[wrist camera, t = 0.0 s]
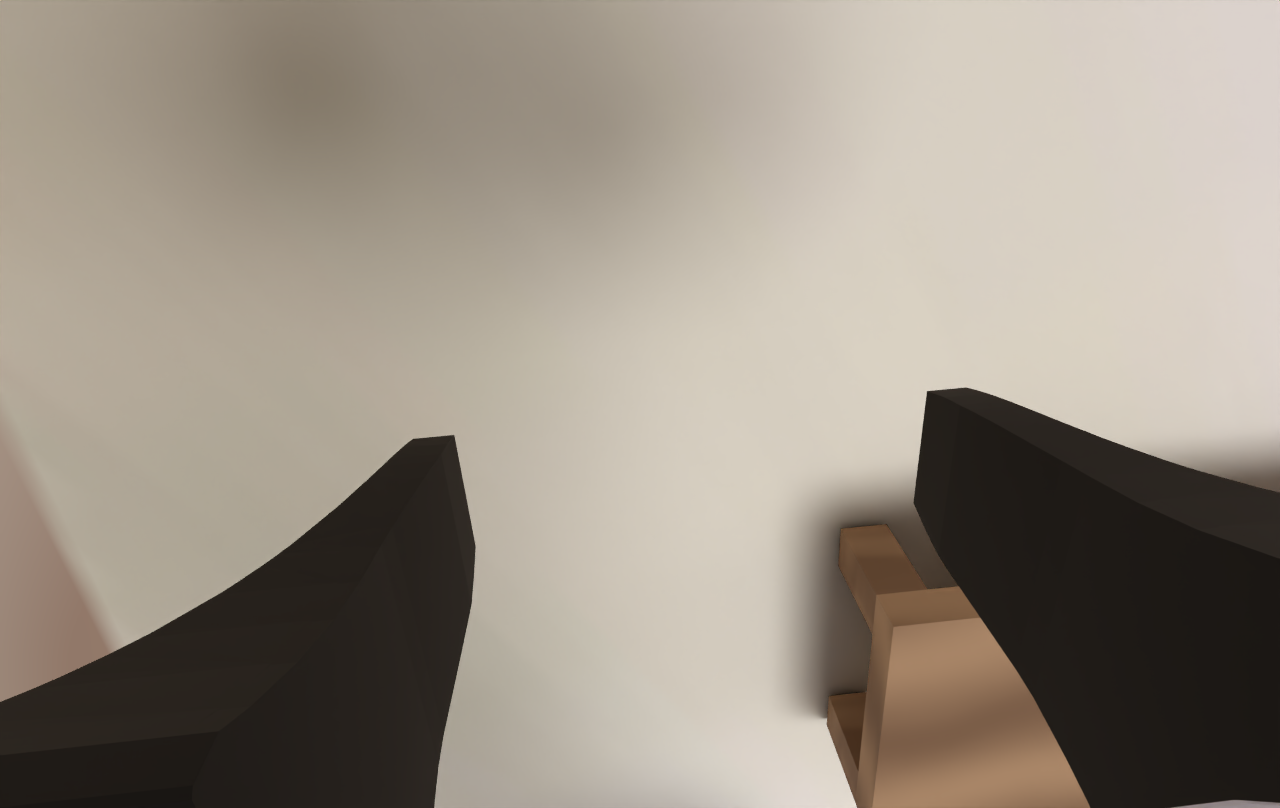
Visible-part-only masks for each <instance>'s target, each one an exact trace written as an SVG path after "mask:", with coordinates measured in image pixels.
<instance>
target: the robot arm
mask: <svg viewBox="0 0 1280 808" xmlns="http://www.w3.org/2000/svg"><path fill="white" fill-rule="evenodd" d="M914 505H915V507H916V509H917V512H918V514H919V516H920V518H921V520H922V523H923V525H924V527H925V529H926V532H927V534H928V536H929V538H930V540H931V542H932V544H933V546H934V548H935V550H936V552H937V554H938V555H939V557H940V559H941V560H942V562H943V563H944V565H945V566H946V568H947V569H948V571H949V572H950V574H951V575H952V577H953V578H954V580H955V581H956V583H957V584H958V586H959V587H960V589H961V590H962V592H963V593H964V595H965V596H966V598H967V599H968V601H969V602H970V603H971V605H972V606H973V608H974V609H975V611H976V612H977V614H978V615H979V617H980V618H981V619H982V621H983V622H984V624H985V625H986V627H987V628H988V630H989V631H990V633H991V634H992V636H993V637H994V638H995V640H996V641H997V643H998V644H999V646H1000V647H1001V649H1002V650H1003V652H1004V653H1005V655H1006V656H1007V657H1008V659H1009V660H1010V662H1011V663H1012V665H1013V666H1014V668H1015V669H1016V671H1017V672H1018V674H1019V675H1020V677H1021V679H1022V680H1023V682H1024V683H1025V685H1026V687H1027V688H1028V690H1029V691H1030V693H1031V695H1032V696H1033V698H1034V700H1035V702H1036V703H1037V705H1038V707H1039V709H1040V711H1041V713H1042V715H1043V717H1044V718H1045V720H1046V722H1047V724H1048V726H1049V728H1050V730H1051V731H1052V733H1053V735H1054V737H1055V739H1056V741H1057V743H1058V745H1059V746H1060V748H1061V750H1062V752H1063V754H1064V756H1065V758H1066V760H1067V762H1068V764H1069V766H1070V768H1071V770H1072V772H1073V774H1074V776H1075V778H1076V780H1077V782H1078V784H1079V786H1080V788H1081V790H1082V792H1083V794H1084V796H1085V798H1086V800H1087V802H1088V804H1089V806H1090V808H1280V493H1278V492H1274V491H1270V490H1266V489H1262V488H1258V487H1254V486H1251V485H1247V484H1243V483H1240V482H1236V481H1233V480H1229V479H1225V478H1222V477H1218V476H1215V475H1211V474H1207V473H1204V472H1200V471H1197V470H1194V469H1191V468H1187V467H1184V466H1181V465H1178V464H1175V463H1172V462H1169V461H1166V460H1163V459H1160V458H1157V457H1154V456H1151V455H1148V454H1145V453H1143V452H1140V451H1137V450H1134V449H1131V448H1128V447H1125V446H1123V445H1120V444H1117V443H1115V442H1112V441H1109V440H1106V439H1104V438H1101V437H1099V436H1096V435H1093V434H1091V433H1088V432H1086V431H1083V430H1080V429H1078V428H1075V427H1073V426H1070V425H1068V424H1065V423H1063V422H1060V421H1058V420H1055V419H1053V418H1050V417H1048V416H1045V415H1043V414H1040V413H1038V412H1035V411H1033V410H1030V409H1028V408H1025V407H1023V406H1020V405H1017V404H1015V403H1012V402H1010V401H1007V400H1004V399H1001V398H999V397H996V396H993V395H990V394H987V393H984V392H981V391H977V390H973V389H970V388H957V389H947V390H936V391H927V397H926V405H925V413H924V421H923V430H922V438H921V446H920V454H919V462H918V471H917V479H916V487H915V495H914ZM475 548H476V547H475V541H474V536H473V531H472V526H471V520H470V515H469V510H468V505H467V499H466V494H465V489H464V484H463V479H462V473H461V468H460V463H459V458H458V452H457V447H456V442H455V437H454V435H450V436H440V437H429V438H418V439H412V440H411V441H410V442H408V443H407V444H406V445H405V446H404V447H402V448H401V449H400V450H399V451H398V452H397V453H396V454H395V455H394V456H393V457H391V458H390V459H389V460H388V461H387V462H386V463H385V464H384V465H383V466H382V467H381V468H380V469H379V470H378V471H377V472H375V473H374V474H373V475H372V476H371V477H370V478H369V479H368V480H367V481H366V482H365V483H363V484H362V485H361V486H360V487H359V488H358V489H357V490H356V491H355V492H354V493H352V494H351V495H350V496H349V497H348V498H347V499H346V500H345V501H344V502H343V503H341V504H340V505H339V506H338V507H337V508H336V509H334V510H333V511H332V512H331V513H329V514H328V515H327V516H326V517H325V518H323V519H322V520H321V521H320V522H318V523H317V524H316V525H315V526H314V527H312V528H311V529H310V530H309V531H307V532H306V533H305V534H304V535H303V536H301V537H300V538H299V539H298V540H296V541H295V542H294V543H293V544H291V545H290V546H289V547H287V548H286V549H285V550H283V551H282V552H281V553H279V554H278V555H277V556H275V557H274V558H273V559H271V560H270V561H268V562H267V563H266V564H264V565H263V566H261V567H260V568H258V569H257V570H255V571H254V572H252V573H251V574H249V575H248V576H246V577H245V578H243V579H242V580H240V581H239V582H237V583H236V584H234V585H233V586H231V587H230V588H228V589H227V590H225V591H223V592H222V593H220V594H219V595H217V596H215V597H213V598H212V599H210V600H208V601H206V602H205V603H203V604H201V605H199V606H198V607H196V608H194V609H192V610H191V611H189V612H187V613H185V614H184V615H182V616H180V617H178V618H177V619H175V620H173V621H171V622H170V623H168V624H166V625H164V626H163V627H161V628H159V629H157V630H156V631H154V632H152V633H150V634H148V635H146V636H144V637H142V638H141V639H139V640H137V641H135V642H133V643H131V644H129V645H127V646H125V647H123V648H121V649H119V650H117V651H115V652H113V653H111V654H109V655H107V656H104V657H102V658H100V659H98V660H96V661H94V662H92V663H89V664H87V665H85V666H83V667H81V668H79V669H77V670H75V671H72V672H70V673H68V674H66V675H64V676H61V677H60V678H57V679H55V680H52V681H50V682H48V683H45V684H43V685H41V686H39V687H36V688H34V689H32V690H29V691H27V692H24V693H22V694H19V695H17V696H14V697H12V698H9V699H7V700H4V701H2V702H0V808H434V802H435V793H436V783H437V774H438V765H439V759H440V753H441V747H442V741H443V735H444V731H445V726H446V721H447V717H448V712H449V707H450V703H451V698H452V694H453V689H454V684H455V680H456V675H457V671H458V666H459V661H460V657H461V652H462V647H463V643H464V638H465V633H466V628H467V623H468V619H469V614H470V609H471V603H472V591H473V579H474V564H475Z"/></svg>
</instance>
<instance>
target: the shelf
mask: <svg viewBox="0 0 1280 808" xmlns="http://www.w3.org/2000/svg"><path fill="white" fill-rule="evenodd" d="M838 566H839V568H840V570H841V572H842V574H843V576H844V578H845V580H846V582H847V584H848V586H849V588H850V590H851V592H852V594H853V597H854V599H855V601H856V603H857V605H858V607H859V609H860V611H861V613H862V615H863V617H864V619H865V621H866V623H867V625H868V627H869V629H870V631H871V633H872V643H871V653H870V663H869V673H868V683H867V692H861V693H852V694H843V695H834V696H829V702H828V716H827V727H828V729H829V732H830V735H831V738H832V740H833V743H834V746H835V748H836V751H837V754H838V756H839V759H840V762H841V765H842V767H843V770H844V773H845V775H846V778H847V781H848V784H849V786H850V789H851V792H852V794H853V797H854V800H855V802H856V805H857V808H1090V806H1089V804H1088V802H1087V800H1086V798H1085V796H1084V794H1083V792H1082V790H1081V788H1080V786H1079V784H1078V782H1077V780H1076V778H1075V776H1074V774H1073V772H1072V770H1071V768H1070V766H1069V764H1068V762H1067V760H1066V758H1065V756H1064V754H1063V752H1062V750H1061V748H1060V746H1059V745H1058V743H1057V741H1056V739H1055V737H1054V735H1053V733H1052V731H1051V730H1050V728H1049V726H1048V724H1047V722H1046V720H1045V718H1044V717H1043V715H1042V713H1041V711H1040V709H1039V707H1038V705H1037V703H1036V702H1035V700H1034V698H1033V696H1032V695H1031V693H1030V691H1029V690H1028V688H1027V687H1026V685H1025V683H1024V682H1023V680H1022V679H1021V677H1020V675H1019V674H1018V672H1017V671H1016V669H1015V668H1014V666H1013V665H1012V663H1011V662H1010V660H1009V659H1008V657H1007V656H1006V655H1005V653H1004V652H1003V650H1002V649H1001V647H1000V646H999V644H998V643H997V641H996V640H995V638H994V637H993V636H992V634H991V633H990V631H989V630H988V628H987V627H986V625H985V624H984V622H983V621H982V619H981V618H980V617H979V615H978V614H977V612H976V611H975V609H974V608H973V606H972V605H971V603H970V602H969V601H968V599H967V598H966V596H965V595H964V593H963V592H962V590H961V589H960V587H959V586H956V587H946V588H937V589H927V588H926V586H925V585H924V583H923V581H922V580H921V578H920V577H919V575H918V573H917V572H916V570H915V569H914V567H913V566H912V564H911V562H910V561H909V559H908V558H907V556H906V554H905V553H904V551H903V550H902V548H901V547H900V545H899V543H898V542H897V540H896V539H895V537H894V535H893V534H892V532H891V531H890V529H889V527H888V526H887V524H883V525H874V526H864V527H854V528H844V529H841V535H840V549H839V562H838Z"/></svg>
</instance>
